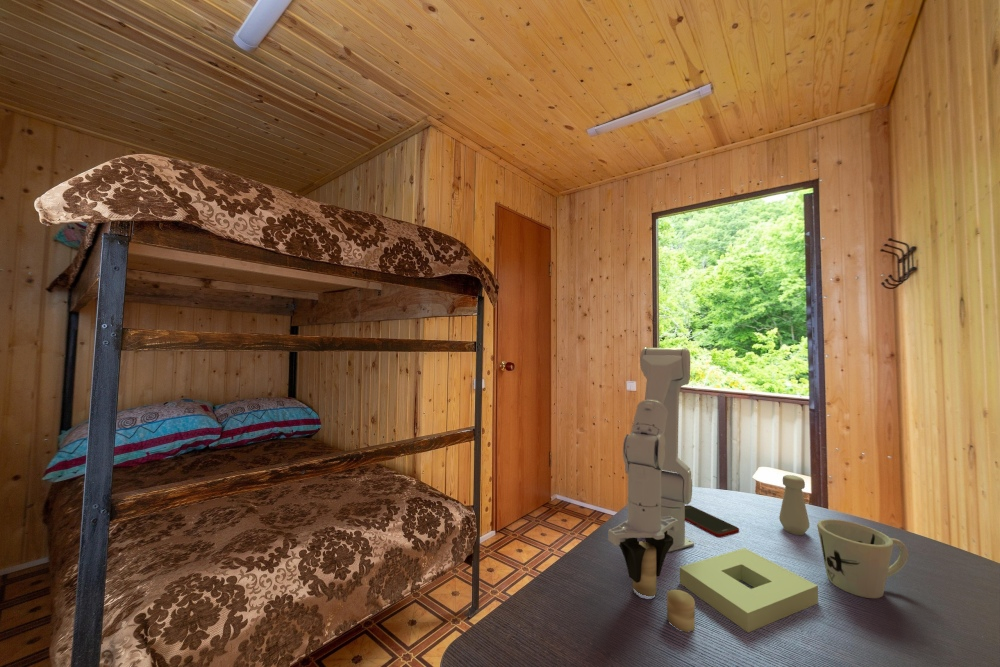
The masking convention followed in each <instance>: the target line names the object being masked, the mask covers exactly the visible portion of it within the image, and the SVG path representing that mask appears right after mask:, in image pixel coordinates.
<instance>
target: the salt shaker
mask: <svg viewBox="0 0 1000 667" xmlns="http://www.w3.org/2000/svg"><path fill="white" fill-rule="evenodd" d="M782 485H783V486H785V488H784V493H783V498H782V502H781V507H780V513H779V518H778V519H779V522H780V524H781V526H782V527H783V530H784V531H785V532H787V533H789V534H792V535H794V536H795V535H796V536H804V535H805V534H806V532H807V531H808V530H809V528H810V520H809V515H808V511H807V506H806V501H805V497H804V492H803V489H805V487H806V486H805V485H806V483H805V480H804V479H803V478H802V477H800V476H797V475H795V474H794V475H793V474H785V475H784V476H783V477H782Z"/></svg>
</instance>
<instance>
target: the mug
mask: <svg viewBox="0 0 1000 667" xmlns="http://www.w3.org/2000/svg"><path fill="white" fill-rule="evenodd" d="M816 526H817V530H818V537H819V541H820V546H821V547H820V548H821V552H822V557H823V562H824V565H825V571H826V576H827V578H828V580H829V582H831V583H832V584H833V585H834V586H835V587H838V588H839V589H840V590H842V591H845V592H847V593H848V594H849V593H850V594H851V595H854V596H858V597H862V598H867V599H880V598H882V597H884V592H885V588H886V583H887V579H888V578H889V577H892V576H894V575H895V574H897V573H898V572H899V571H901V570H902V569H903V568H904V566H906V564H907V562H908V560H909V551H908V548H907V546H906V544H905V543H903V541H901V539H897V538H893V537H890V536H888V535H887V534H885V533H884V532H881V531H879V530H877V529H874V528H872V527H869V526H866V525H864V524H860V523H857V522H853V521H848V520H841V519H833V518H832V519H831V518H830V519H827V518H826V519H821V520H818V522H817V525H816ZM894 546H896V547H898V549H899V554H898V557H897V559H896V560H895V561H894V563H892V564H891V558H892V553H893V549H894ZM890 564H891V565H890Z"/></svg>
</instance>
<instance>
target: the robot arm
mask: <svg viewBox="0 0 1000 667" xmlns="http://www.w3.org/2000/svg"><path fill="white" fill-rule="evenodd" d="M639 366H640V369H641V372H642V374H643V376H644V377H645V379H646V382H645V383H646V386H645V391H644V392H645V393H644V400H642V401H640V402H638V404H637V405H636V410H635V414H634V418H633V421H632V422H633V423H632V427H631V430H630V433H629V434H625V436H624V439H623V442H622V444H623V445H622V457H623V461H624V471H625V472H624V473H626V474H627V520H624V521H623V522H621V523H620V524H618V525H617V526H615V527H613V528H609V529H608V530H607V531H608V532H607V535H608V536H607V540H608V542H610V543H611V544H612V545H614V546H616V547H617V546H619V548H620V550H621V552H622V555H623V558H624V561H625V564H626V565H625V566H626V568H627V569H626V570H627V573H628V576H629V579H631V580H632V581H633V580H634V581H635V582H636V583H638V582H640V579H641V565H642V559H643V556H644V553H645V550H646V549H645V548H644V547H643V546H641V545H640V544H639V542H640V541H639V540H638V539H642V538H643V539H644V540H645V541H644V542H647V543H650V544H652V545H653V546H655V548H656V578H658V577H660V575H661V572H662V568H663V565H664V562H665V559H666V557H667V554H668V553H669V552H673V551H677V550H681V549H685V548H688V547H692V546H695V542H694V541H692V540H690V539H689V538H687V537H686V521H685V506H686V505H689V504H690V503H691V502H692V497H693V496H692V495H693V479H692V471H691V468H690V467H689V465H688V464H686V463H685V462H683V461H682V459H681V458H679V414H680V412H679V410H680V406H679V404H680V392H681V389H682V387H683V386H686V385H688V384H689V383H690V379H691V352H690V350H689V349H688V347H646V346H645V347H643V348H642V350H641V351H640V356H639Z"/></svg>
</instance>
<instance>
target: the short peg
mask: <svg viewBox="0 0 1000 667" xmlns="http://www.w3.org/2000/svg"><path fill="white" fill-rule="evenodd" d="M695 601H696V600H695V599H694V597H693V596H692V595H691V594H690V593H688V592H686V591H684V590H680V589H670V590H668V591H667V593H666V610H667V611H666V620H667V619H668V621H669V622H670V623H671V624H672V625H673V626H675V627H676V628H678V629H679V630H682V631H686V632H685V633H689V632H688V631H692V632H693V631H694V630H695V629H694V628H695V626H696V625H695V624H696V622H695V621H696V619H695V617H696V616H695V612H696V611H695V610H696V609H695V606H696V604H695ZM668 621H667V622H668Z"/></svg>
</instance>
